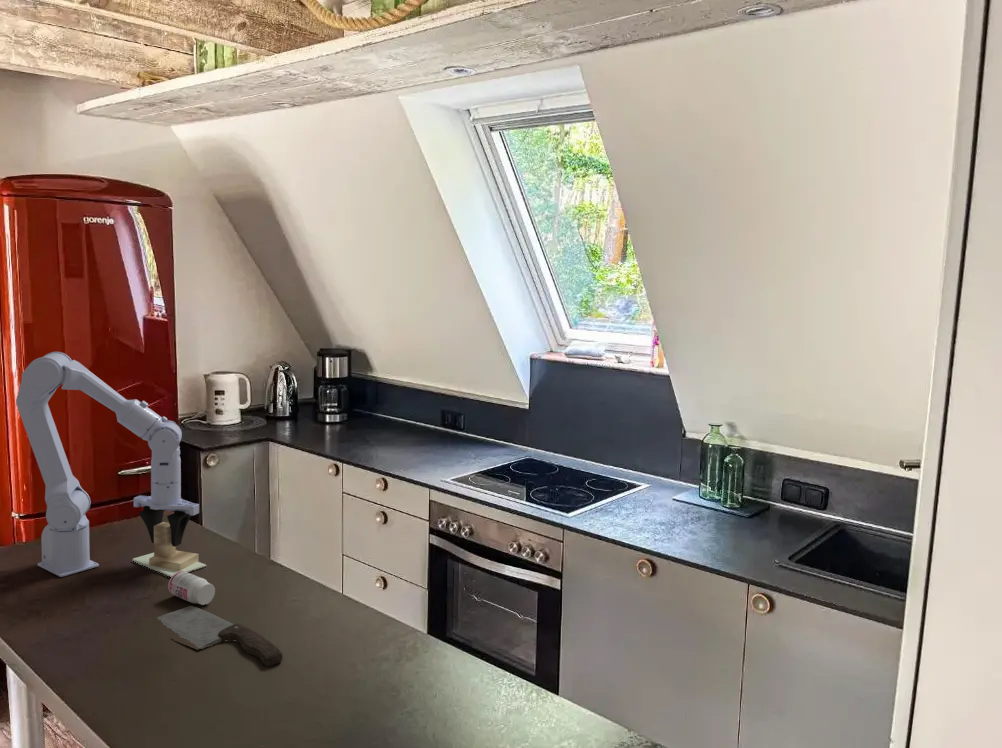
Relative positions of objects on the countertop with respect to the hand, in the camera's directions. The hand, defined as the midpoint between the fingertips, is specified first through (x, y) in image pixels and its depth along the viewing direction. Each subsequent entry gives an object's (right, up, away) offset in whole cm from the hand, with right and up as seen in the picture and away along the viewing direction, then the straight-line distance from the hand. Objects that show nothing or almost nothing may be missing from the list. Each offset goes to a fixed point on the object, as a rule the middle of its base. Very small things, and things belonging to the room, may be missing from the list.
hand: (166, 543), depth 172 cm
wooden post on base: (+2, -4, 0) cm, 4 cm away
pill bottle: (+8, -5, -14) cm, 17 cm away
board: (+1, -5, 0) cm, 5 cm away
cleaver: (+21, -11, -31) cm, 39 cm away
